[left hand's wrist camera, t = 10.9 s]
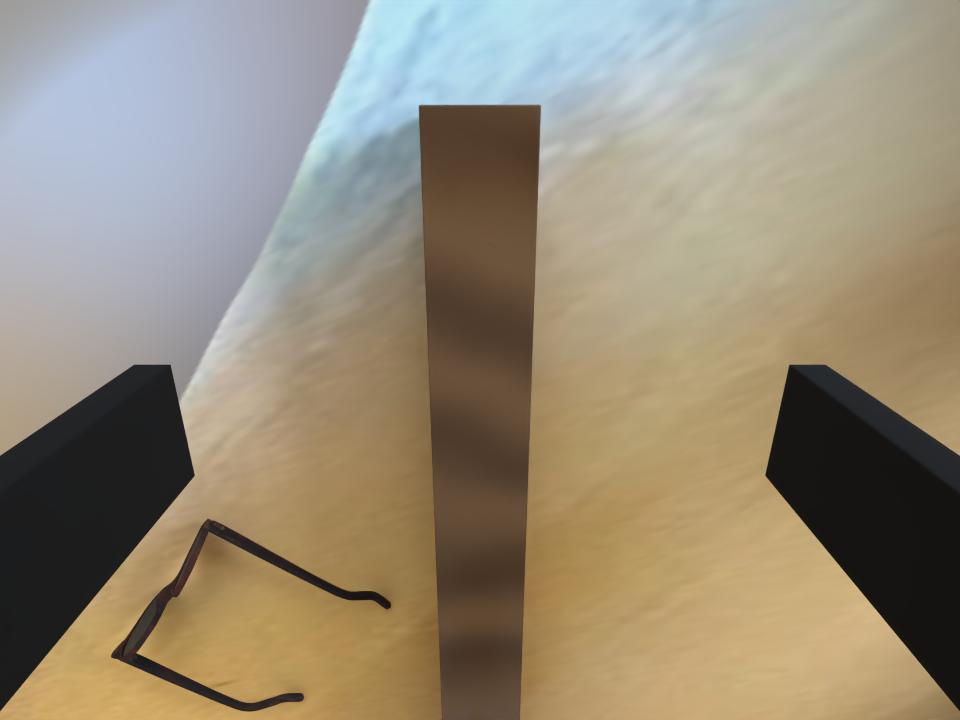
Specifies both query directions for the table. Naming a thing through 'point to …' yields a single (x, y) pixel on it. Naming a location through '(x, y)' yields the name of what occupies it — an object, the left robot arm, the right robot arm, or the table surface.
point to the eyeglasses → (158, 604)
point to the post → (480, 389)
